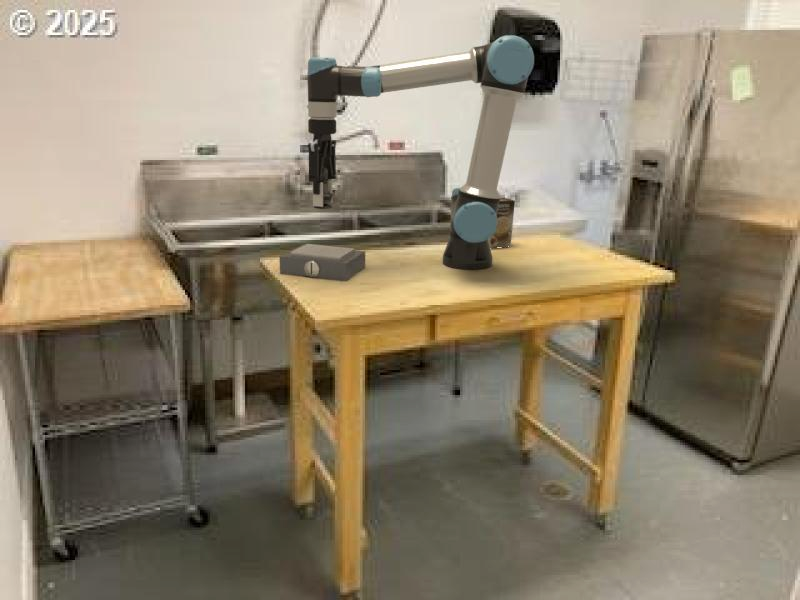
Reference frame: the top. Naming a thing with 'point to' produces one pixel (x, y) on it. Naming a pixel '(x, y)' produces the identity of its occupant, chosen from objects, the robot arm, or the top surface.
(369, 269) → the top surface
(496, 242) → the coffee box
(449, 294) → the top surface
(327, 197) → the dark chess piece
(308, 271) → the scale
